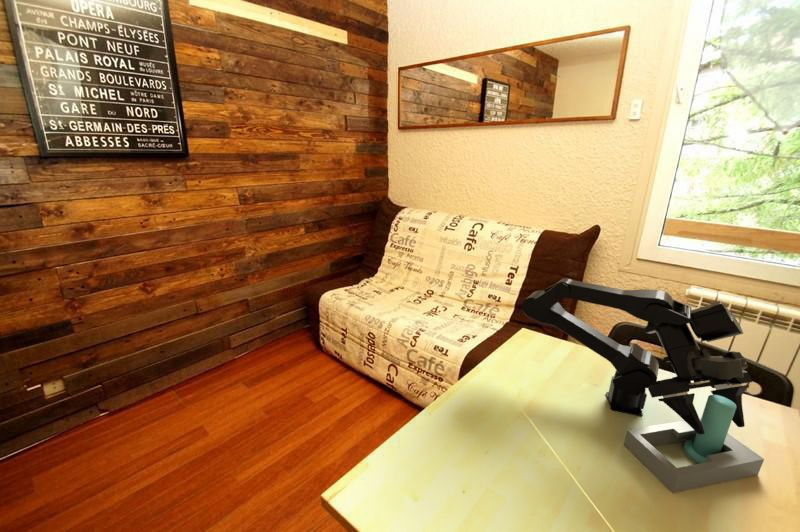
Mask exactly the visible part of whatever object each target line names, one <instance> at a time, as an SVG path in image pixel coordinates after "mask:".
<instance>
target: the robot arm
mask: <svg viewBox="0 0 800 532" xmlns="http://www.w3.org/2000/svg"><path fill="white" fill-rule="evenodd" d="M566 298H567V299H572V300H576V301H580V302H586V303H588V304H589V303H590V304H595V305H599V306H603V307H608V308H612V309H617V310H621V311H623V312H625V313H627V314H629V315H631V316H632V317H634V318H637V319H638V320H642V321H644V322H646V323H647V325H646V326H645V328H644V329H643V332H644V333H645V334H655V333H656V335H657V338H658V339H659V342H660V343H661V346H662V348H663V350H664V352H665V354H666V356H664V357H662V359H663V361H664V363H669V362H670V365H671V367H672V369H673V370H674V373H675V376H673V377H672V378H666V379H661V380H658V374H659V369H660V368H659V367H660V365H659V361H658V360H657V358H656V357H655V356H653V352H652V351H649V350H647V349H644V348H642V347H641V346H640V345H639V344H637V343H635V342H633V343H632V344H631V346H628V345H623V344H620V343H618V342H617V341H615V340H614V339H612V338H611V337H609V336H607V335H605V334H604V333H602V332H600V331H598V330H597V329H596V328H594V327H592V326H591V325H589V324H587V323H586V322H584V321H582V320H581V319H579V318H578V317H577V316H574V315H573V314H571V313H569V312H568V311H566V310H565V309H564V308H563V307H562V305H561V304H560V301H563V300H564V299H566ZM521 305H522V310H523V314H524V315H525V316H526V317H527V318H529V319H531V320H533V321H536V322H538V323H539V324H543V325H544V324H545V325H547V326H548V325H549V326H553V327H554V328H556V329H558V330H560V331H561V332H563V333H565V334H566V335H568V336H569V337H571V338H572V339H574V340H575V341H576V342H579V343H580V344H581V345H584V346H585V347H587V348H588V349H590V350H591V351H593V352H594V353H596V354H597V355H599V356H600V357H602V358H603V359H605V360H607V362H609V363H610V364H611V365H612V366H613V368H614V369H615V373H614V375H612V376H611V380H610V385H609V390H608V391H606V392H605V396H606V399H607V402H608V405H609V409H610V410H611V411H614V412H619V413H623V414H629V415H635V416H640V417H643V415H644V414H643V413H644V412H643V411H642V410H644V407H645V405H646V400H647V396H648V394H647V392H646V390H648V392H649V395H650V397H651V398H657V399H658V402H663V403H664V404H665V405H666V406H668V407H669V408H670V409H671V410H672V411H674V412H675V413H676V414H677V415H678V416H679V417H680V418H681V419H682V421H683V420H684V421H685V422H686V423H687V424H688V425H690V426H691V427H692V428H693V429H694V430H695V431H696V432H697V433H698V434H705V432H704V429H703V426H702V423H701V421H700V419H699V418H700V416H699V414H698V412H697V410H696V407H695V405H694V399H695V393H693V392H692V393H690V390H693V389H700V388H707V387H711V388H712V389H714V390H710V392H711V395H719V396H722V397H725V398H727V399H729V400H731V401H732V402H734V403H735V404H736V406H737V407H736V410H735V413H734V416H733V419H732V421H731V422H733V423H734V424H735V425H736V426H737V428H744V427H745V425H746V424H745V418H744V417H745V416H744V410H743V394H744V392H745V391H746V389H748V388H750V384H749V383H753V382H754V381H753V379H752V377H751V375H750V374H749V372H748V371H746V370H745V369H747V368H749V364H748V363H747V361H746V359H745V358H744V356H743V355H742V353H741V352H740V351H733V350H732V351H725V352H724V353H723V355H720V356H719V355H717V356H715V355H713V356H712V354H711V353H710V351H709V350H707V349H706V348H700V346H699V345H698V342H697V340H696V339H695V337H696V338H697V339H700V340H701V341H702V342H707V343H709V342H715V341H718V340H723V339H727V338H731V337H735V336H736V337H737V336H739V335H743V334H744V332H743V329H742V326H741V324H740V323H739V321H738V319H737V318H736V316H735V315H734V313H733V312H732V311H730V310H729V309H728V307H727V306H726V305H725V304H724V303H723V301H721V300H718V301H715V302H713V303H710V304H709V305H706V306H702V307H698V308H695V309H692V307H691V306H690V305H689V304H685V303H683V302H680V301H679V300H677V299H674V298H673V297H672V295H670V293H668V292H667V291H664V290H660V289H647V288H645V289H643V288H641V289H640V288H639V289H621V288H616V287H610V286H605V285H601V284H595V283H588V282H585V281H579V280H574V279H571V278H568V277H563V278H561V279H560V280H559V281H558V282H556V283H554V284H553V285H550V286H548V287H547V288H545V289H544V290H541V289H540V290H536V291H534V292H532V293H531V294H530V295H528V297H526V298H525V300H524V301H523V302H522V304H521ZM688 324H689V325H688ZM689 326H690V327H689ZM690 328H691V329H690ZM691 330H692V331H691ZM693 333H694V335H695V337H694V335H693ZM702 380H703V381H702ZM692 381H693V382H692ZM742 384H746V385H742ZM659 397H662V398H659Z"/></svg>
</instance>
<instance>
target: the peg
mask: <svg viewBox="0 0 800 532" xmlns="http://www.w3.org/2000/svg"><path fill="white" fill-rule="evenodd" d="M736 407H737V406H736V404H735V403H734V402H732V401H731V400H729V399H727V398H725V397H722V396H719V395H713V394H710V395H708V396H707V400H706V402H705V406H704V409H703V412H702V414H701V417H702V418H701V417H700V418H701V423H702V426H703V429H704V432H705V434H698V433H697V434H696V437H695V439H688V440H685V442H684V446H683V452H684V453H685V455H686V457H688V458H689V459H690V460H691V461H692V462H694V463H695V464H700V463H705V462H708V461H707V460H706V457H707V455H712V454H717V453H722V451H721V450H722V447H723V444H724V441H725V438H726V436H727V433H728V432H729V429H730V427H731V423H732V422H733V421H732V419H733V416H734V413H735V410H736ZM728 434H729V433H728Z"/></svg>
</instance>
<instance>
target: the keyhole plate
mask: <svg viewBox="0 0 800 532" xmlns="http://www.w3.org/2000/svg"><path fill="white" fill-rule="evenodd" d="M701 418H702V416H701V417H699V419H700V421H701ZM696 434H697V432H696V431H695V430H694V429H693V428H692V427H691V426H690V425H688V424H687V423H686V422H685V421H684V420H683V419H682V420H678V421H673V422H667V423H660V424H653V425H649V426H643V427H637V428H631V429H627V430H626V434H625V438H624V442H623V446H624V447H625V448H626V449H628V451H629V452H630V453H631V454H632V455H633V456H634V457H636V458H637V459H638V460H639V462H640V463H641V464H643V466H645V467H646V468H647V470H648V471H649V472H651V474H652V475H654V476H655V478H657V480H659V481H660V482H661V483H662V485H664V486H665V487H666V488H667V489H668V491H670V492H671V493H672V494H675V493H679V492H684V491H688V490H689V491H690V490H693V489H699V488H703V487H707V486H712V485H716V484H718V485H719V484H722V483H727V482H730V481H731V482H732V481H735V480H741V479H745V478H749V477H750V478H751V477H756V476H758V475H759V474H760V471H761V468H762V466H763V463H764V461H765V458H763V457H762V456H761V455H759V454H757V452H755V451H754V450H752V449H751V448H750V447H748V446H746V445H745V444H744V443H743V442H741V441H740V440H738V439H737V438H735V437H734V436H732V435H730V434H729V433H727V436H726V438H725V441H724V444H723V447H722V450H721V451H722V453H717V454H712V455H707V457H706V460H707V461H708V462H705V463H700V464H697V463H695V464H691V465H685V466H680V467H676V466H675V464H673V463H672V462H671V461H670V460H669V459H667V457H665V456H664V454H662V453H661V451H659V450H657V448H655V447H656V446H663V445H667V444H674V443H679V442H684V441H685V442H686V440H688V439H695V437H696Z"/></svg>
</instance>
